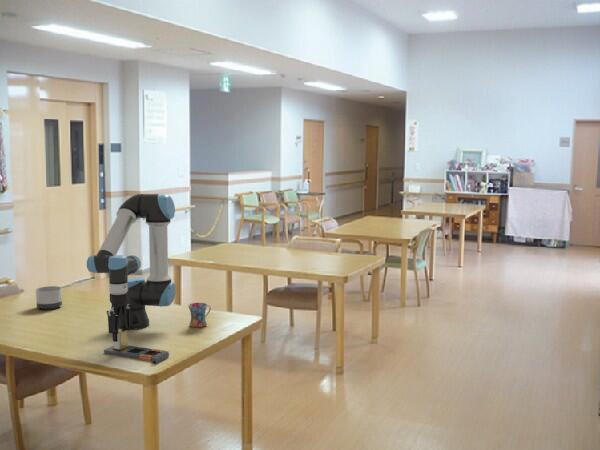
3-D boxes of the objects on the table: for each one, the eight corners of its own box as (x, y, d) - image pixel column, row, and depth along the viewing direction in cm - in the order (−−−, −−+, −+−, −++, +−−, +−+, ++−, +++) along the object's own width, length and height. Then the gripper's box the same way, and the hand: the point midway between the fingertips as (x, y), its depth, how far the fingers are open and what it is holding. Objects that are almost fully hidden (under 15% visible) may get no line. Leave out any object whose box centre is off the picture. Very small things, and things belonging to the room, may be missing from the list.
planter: (44, 304, 349) (43, 285, 348) (66, 305, 347) (65, 286, 346) (31, 310, 337) (31, 291, 335) (54, 311, 335) (53, 291, 334)
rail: (103, 355, 264) (103, 349, 263) (118, 349, 272) (118, 343, 272) (155, 364, 254) (155, 357, 253) (168, 357, 262) (168, 351, 262)
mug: (195, 329, 302) (194, 308, 300) (184, 325, 308) (184, 304, 307) (216, 325, 310) (215, 304, 308) (205, 321, 316) (205, 300, 315)
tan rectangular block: (113, 352, 265) (113, 331, 264) (119, 349, 269) (119, 329, 267) (121, 353, 263) (120, 332, 262) (127, 350, 267) (126, 330, 266)
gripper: (112, 298, 254) (114, 354, 256) (138, 289, 269) (140, 342, 272) (97, 296, 256) (99, 351, 259) (124, 287, 272) (126, 340, 275)
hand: (120, 346), depth 266 cm, fingers closed on tan rectangular block, 4 cm apart
